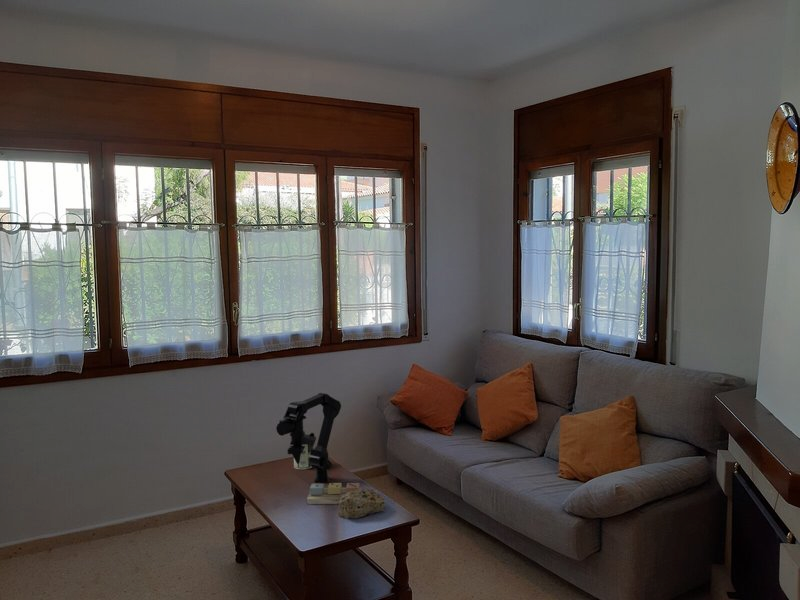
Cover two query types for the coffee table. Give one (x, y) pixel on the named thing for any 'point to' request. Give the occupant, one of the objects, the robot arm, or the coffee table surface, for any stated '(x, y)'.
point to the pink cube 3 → (352, 487)
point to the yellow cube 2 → (334, 488)
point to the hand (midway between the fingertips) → (298, 463)
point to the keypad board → (326, 497)
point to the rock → (360, 503)
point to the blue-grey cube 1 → (316, 489)
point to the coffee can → (304, 458)
